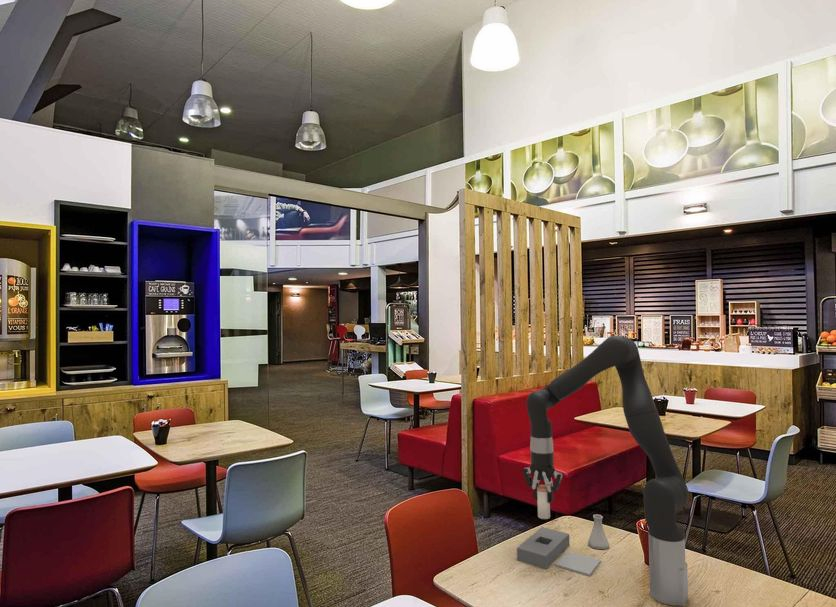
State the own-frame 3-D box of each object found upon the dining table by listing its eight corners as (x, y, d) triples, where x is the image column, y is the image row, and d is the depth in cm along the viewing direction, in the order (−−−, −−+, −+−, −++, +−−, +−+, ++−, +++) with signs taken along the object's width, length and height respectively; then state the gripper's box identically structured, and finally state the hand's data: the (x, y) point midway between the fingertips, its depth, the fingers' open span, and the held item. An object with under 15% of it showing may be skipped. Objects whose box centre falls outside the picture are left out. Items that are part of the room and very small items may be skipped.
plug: (551, 515, 171) (550, 486, 171) (547, 520, 168) (546, 489, 168) (540, 513, 173) (539, 484, 173) (536, 517, 170) (534, 487, 170)
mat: (601, 562, 163) (601, 560, 163) (589, 576, 154) (589, 574, 154) (567, 552, 170) (567, 550, 170) (555, 565, 161) (555, 564, 161)
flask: (612, 550, 171) (612, 520, 172) (591, 550, 171) (590, 520, 172) (605, 540, 179) (604, 512, 179) (584, 540, 179) (584, 512, 179)
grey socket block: (569, 545, 175) (569, 533, 175) (546, 569, 159) (545, 556, 159) (542, 538, 181) (541, 526, 181) (517, 560, 165) (516, 547, 165)
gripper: (566, 450, 170) (567, 501, 169) (526, 444, 178) (527, 494, 178) (558, 455, 164) (560, 508, 163) (517, 449, 172) (518, 500, 171)
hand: (543, 500), depth 170 cm, fingers closed on plug, 4 cm apart
